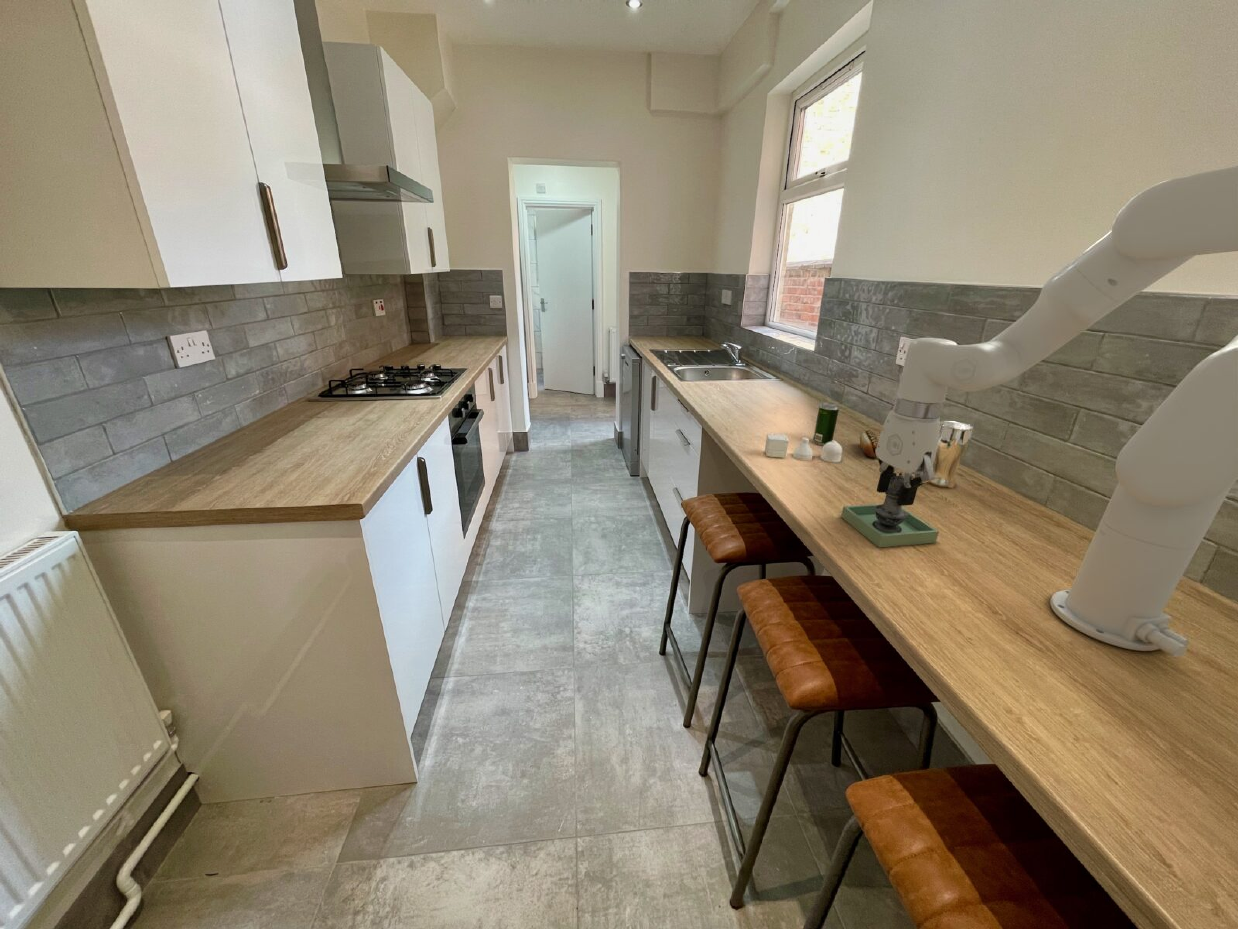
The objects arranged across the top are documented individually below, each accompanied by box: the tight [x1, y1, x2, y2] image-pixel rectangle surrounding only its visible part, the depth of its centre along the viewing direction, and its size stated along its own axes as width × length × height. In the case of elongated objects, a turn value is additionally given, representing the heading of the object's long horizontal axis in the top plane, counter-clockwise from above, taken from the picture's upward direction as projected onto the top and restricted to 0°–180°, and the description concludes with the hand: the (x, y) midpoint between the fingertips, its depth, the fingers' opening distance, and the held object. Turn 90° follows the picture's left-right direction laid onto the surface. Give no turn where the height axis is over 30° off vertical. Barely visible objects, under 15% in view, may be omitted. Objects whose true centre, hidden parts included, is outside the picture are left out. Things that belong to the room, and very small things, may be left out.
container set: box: [764, 433, 843, 464], centre depth 134 cm, size 20×5×6 cm, turn 82°
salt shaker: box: [872, 471, 908, 534], centre depth 96 cm, size 6×6×12 cm
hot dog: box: [859, 430, 880, 458], centre depth 139 cm, size 5×13×5 cm, turn 163°
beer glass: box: [927, 420, 974, 489], centre depth 118 cm, size 7×7×15 cm
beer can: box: [812, 401, 840, 447], centre depth 144 cm, size 5×5×12 cm
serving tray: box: [840, 503, 940, 548], centre depth 98 cm, size 12×12×2 cm
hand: (894, 497), depth 96 cm, fingers open, 5 cm apart
